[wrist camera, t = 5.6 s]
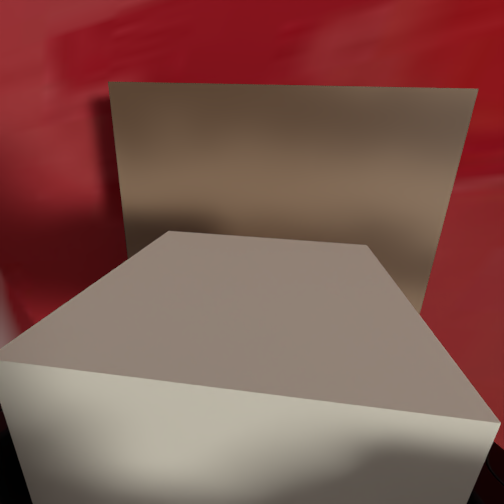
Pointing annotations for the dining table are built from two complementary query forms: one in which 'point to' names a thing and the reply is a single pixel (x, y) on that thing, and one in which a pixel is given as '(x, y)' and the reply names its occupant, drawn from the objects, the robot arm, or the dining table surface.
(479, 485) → the robot arm
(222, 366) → the cream cube
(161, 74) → the dining table surface
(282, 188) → the walnut base
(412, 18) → the dining table surface
